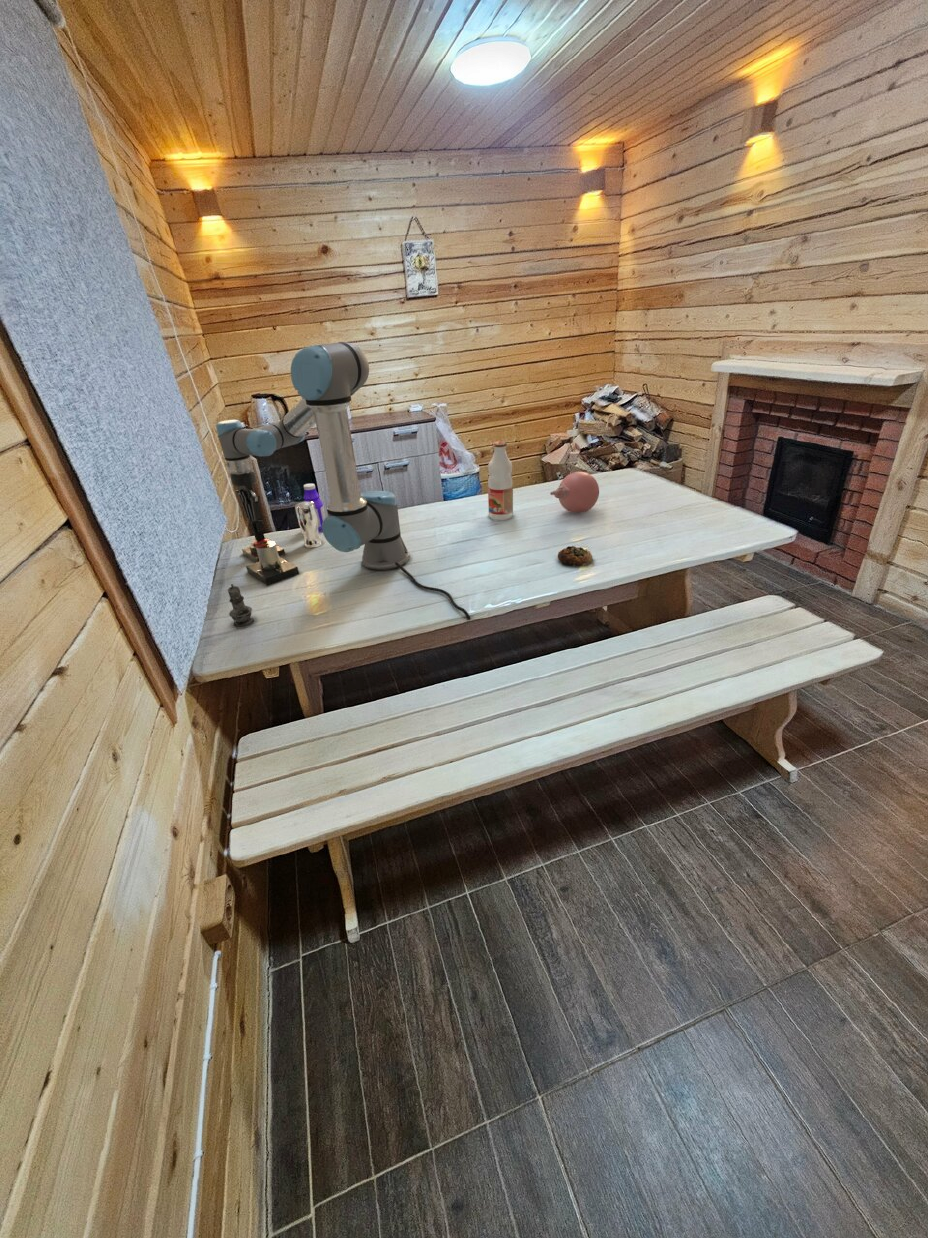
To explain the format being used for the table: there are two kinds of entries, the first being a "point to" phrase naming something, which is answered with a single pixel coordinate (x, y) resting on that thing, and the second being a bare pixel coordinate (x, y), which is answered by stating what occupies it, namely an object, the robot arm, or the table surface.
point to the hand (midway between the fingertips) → (260, 539)
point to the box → (253, 554)
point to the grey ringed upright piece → (239, 608)
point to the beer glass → (308, 523)
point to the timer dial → (268, 555)
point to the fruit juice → (500, 484)
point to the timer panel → (272, 572)
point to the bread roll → (574, 556)
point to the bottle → (315, 502)
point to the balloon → (577, 492)
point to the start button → (259, 541)
